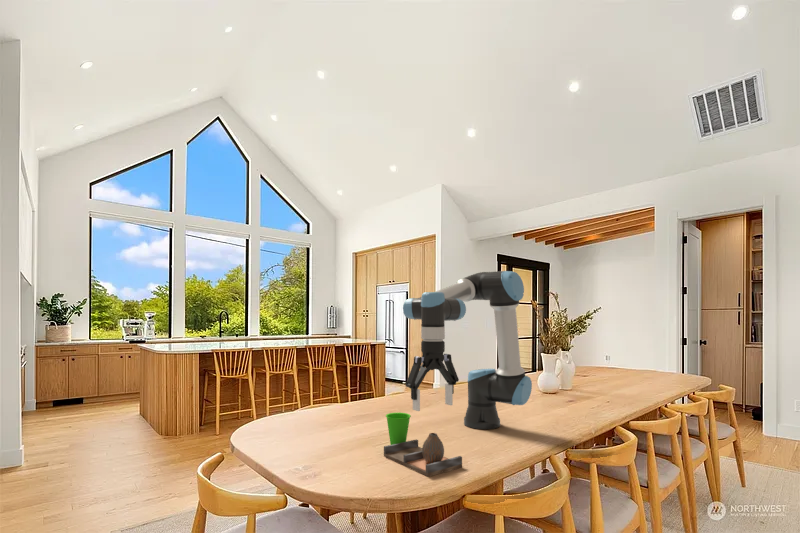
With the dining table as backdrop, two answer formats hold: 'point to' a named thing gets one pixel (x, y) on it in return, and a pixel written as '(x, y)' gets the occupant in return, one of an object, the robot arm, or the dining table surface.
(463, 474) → the dining table surface
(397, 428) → the cup
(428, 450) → the vase
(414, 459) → the rack
